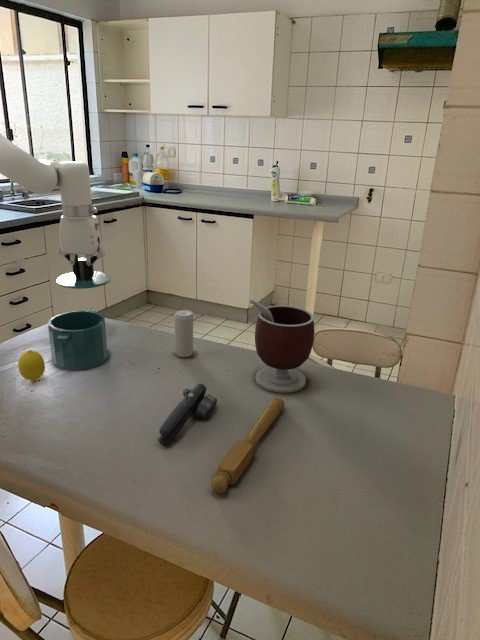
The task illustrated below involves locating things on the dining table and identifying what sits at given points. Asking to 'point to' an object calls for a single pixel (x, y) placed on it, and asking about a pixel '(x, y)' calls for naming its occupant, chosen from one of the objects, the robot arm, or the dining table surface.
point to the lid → (83, 278)
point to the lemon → (31, 365)
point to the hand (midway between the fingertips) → (83, 277)
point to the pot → (78, 339)
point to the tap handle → (244, 449)
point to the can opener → (187, 411)
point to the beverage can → (183, 333)
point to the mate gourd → (283, 346)
